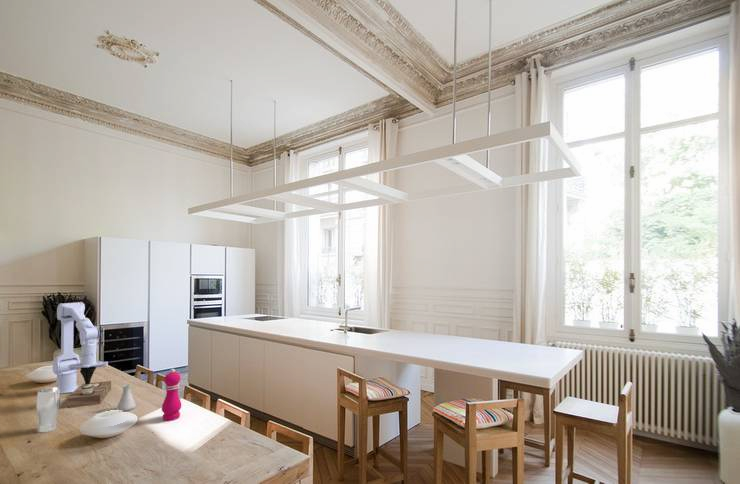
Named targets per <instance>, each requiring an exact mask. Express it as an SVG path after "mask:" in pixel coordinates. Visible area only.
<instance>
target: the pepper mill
mask: <svg viewBox="0 0 740 484" xmlns="http://www.w3.org/2000/svg"><path fill="white" fill-rule="evenodd" d="M169 371H170V372H169V373H167V374H166V375H165V377H164V378H163V380H164V381H163V382H164V384H165V390H166V391H165V392H166V394H165V395H166V396H165V398H164V401H163V403H162V405H161V412H162V413H163V414H162V421H165V422H172V421H175V420H177V419H179V418H180V417H181V411H180V410H181V409H182V401H181V399H180V397H179V393H178V392H179V391H178V390H179V387H180V384H179V382H180V381H181V375H180V373H178V372H175V371H176V369H175V368H171V369H170V370H169Z"/></svg>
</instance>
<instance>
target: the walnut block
mask: <svg viewBox="0 0 740 484" xmlns="http://www.w3.org/2000/svg"><path fill="white" fill-rule="evenodd" d="M90 384H100V386H98V387H93V393H92V394H90V395H82V386H83V385H85V383H82V384H81V385H79V387H78V388H77V389H76V390H75V391H74V392H72V394H71V395H70V396H69V397H68V398H67V406H66V408H67V409H71V408H79V407H86V406H88V407H89V406H95V405H96V406H97V405H100V404H101V403H102V402H103V401H104V400H105V399H106V396H107V395H108V393H109V392H110V391H111V390H112V380H109V381H108V380H107V381H99V382H90Z"/></svg>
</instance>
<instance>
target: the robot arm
mask: <svg viewBox="0 0 740 484" xmlns="http://www.w3.org/2000/svg"><path fill="white" fill-rule="evenodd" d="M85 306H86V304H85V303H84V302H83V301H78V302H67V303H62V302H61V303H59V304H58V305H57V308H56V318H57V321H60V324H61V326H60V327H61V330H60V331H61V332H60V333H61V334H60V335H61V336H60V353H59V354H58V355H57V356H56V357H54V358H53V364H52V372H53V374H54V375H56V384H55V385H56V386H55V387H59V388H60V395H61V394H69V393H70V394H71V393H74V392H75V391H76V390H77V389H78V388H79V387H80V385H77V379H78V378H77V371H79V370H80V371H79V372H80V374H81V375H82V378H83V381H84V384H85V385H88V384H90V383H91V380H92V377H93V374H94V373H95V371H96V368H102V367H103V368H107V367H108V366H109V362H108V361H97V349H98V347H97V345H98V339H99V338H100V336H101V335H100V334H101V333H100V332H101V331H100V328H99V327H98V326H96V325H94V324H93V323H92V322H91V320H90V318H88V317H86V316H85V310H86V307H85ZM74 321H75V322H76V323H75V327H76V328H77V331H78V332H79V335H78V336H79V340H80V341H79V342H80V345H81V349H80V355H79V354H78V353H75V352H74Z"/></svg>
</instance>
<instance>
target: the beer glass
mask: <svg viewBox="0 0 740 484" xmlns="http://www.w3.org/2000/svg"><path fill="white" fill-rule="evenodd" d="M36 395H37V396H36V402H35V404H36V406H35V407H36V413H37V418H38V424H37V428H36V433H39V434H43V433H48V432H52V431H54V430H57V428H58V422H57V418H58V417H57V416H58V412H59V408H60V403H61V394H60V388H59V387H56V386H50V387H45V388H42V389H39V390H38V391H37V394H36Z"/></svg>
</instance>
